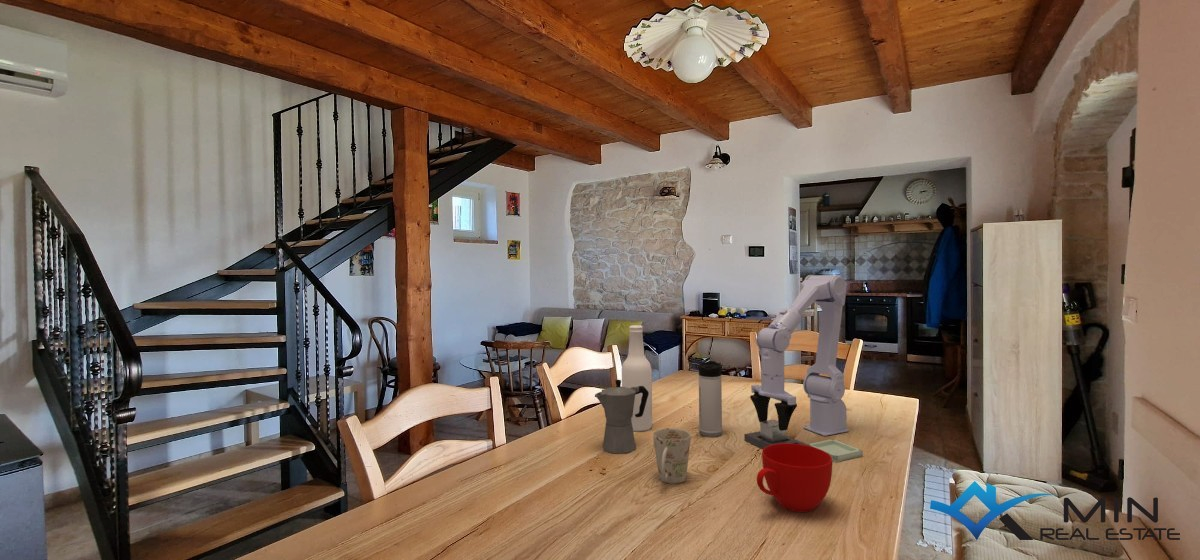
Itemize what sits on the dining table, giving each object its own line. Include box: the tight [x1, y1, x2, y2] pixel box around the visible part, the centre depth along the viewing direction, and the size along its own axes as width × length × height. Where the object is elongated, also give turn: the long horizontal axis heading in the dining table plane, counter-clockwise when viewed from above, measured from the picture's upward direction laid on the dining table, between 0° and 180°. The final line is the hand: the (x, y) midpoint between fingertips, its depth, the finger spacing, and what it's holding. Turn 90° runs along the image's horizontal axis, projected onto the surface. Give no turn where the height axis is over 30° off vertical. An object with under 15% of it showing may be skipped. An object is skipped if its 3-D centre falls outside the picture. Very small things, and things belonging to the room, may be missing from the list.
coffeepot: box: [594, 379, 649, 455], centre depth 135 cm, size 15×9×18 cm, turn 113°
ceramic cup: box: [756, 443, 833, 513], centre depth 101 cm, size 13×17×10 cm
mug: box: [652, 427, 692, 484], centre depth 113 cm, size 8×13×10 cm, turn 161°
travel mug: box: [698, 360, 723, 438], centre depth 145 cm, size 6×7×20 cm
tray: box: [807, 438, 864, 463], centre depth 128 cm, size 9×9×2 cm
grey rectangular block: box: [759, 419, 787, 444], centre depth 135 cm, size 4×4×6 cm
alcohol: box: [621, 324, 653, 432], centre depth 151 cm, size 9×9×30 cm
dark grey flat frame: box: [743, 430, 829, 454], centre depth 131 cm, size 20×9×2 cm, turn 23°
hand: (772, 425), depth 135 cm, fingers open, 7 cm apart
